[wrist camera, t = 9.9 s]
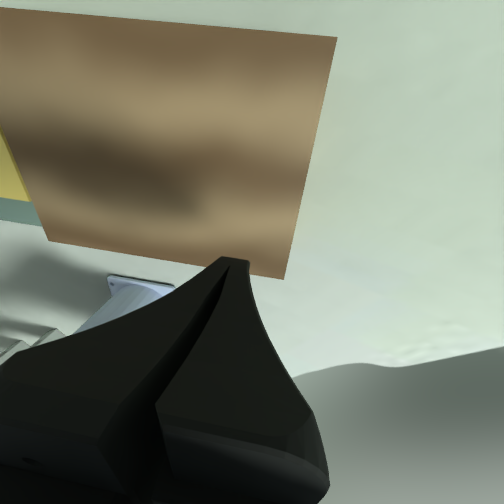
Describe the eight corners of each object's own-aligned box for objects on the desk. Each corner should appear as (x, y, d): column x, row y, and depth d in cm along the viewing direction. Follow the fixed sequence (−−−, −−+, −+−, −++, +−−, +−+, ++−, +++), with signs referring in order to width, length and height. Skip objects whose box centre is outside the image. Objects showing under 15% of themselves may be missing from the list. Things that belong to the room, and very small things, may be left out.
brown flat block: (283, 254, 20) (283, 279, 17) (86, 223, 22) (48, 241, 18) (323, 61, 13) (337, 36, 10) (28, 33, 15) (-51, 2, 11)
